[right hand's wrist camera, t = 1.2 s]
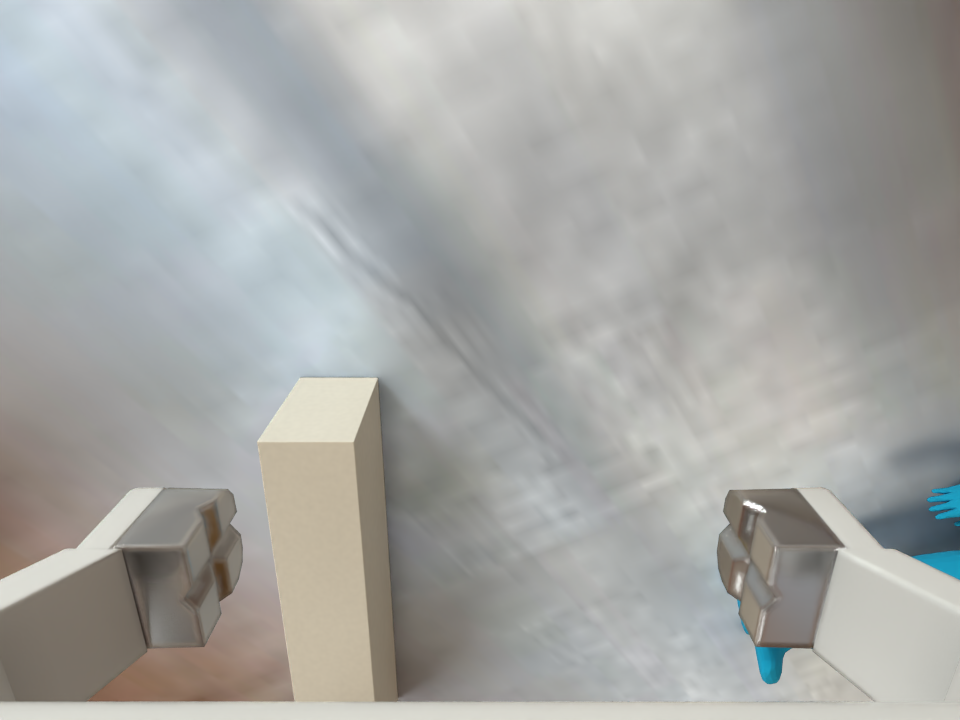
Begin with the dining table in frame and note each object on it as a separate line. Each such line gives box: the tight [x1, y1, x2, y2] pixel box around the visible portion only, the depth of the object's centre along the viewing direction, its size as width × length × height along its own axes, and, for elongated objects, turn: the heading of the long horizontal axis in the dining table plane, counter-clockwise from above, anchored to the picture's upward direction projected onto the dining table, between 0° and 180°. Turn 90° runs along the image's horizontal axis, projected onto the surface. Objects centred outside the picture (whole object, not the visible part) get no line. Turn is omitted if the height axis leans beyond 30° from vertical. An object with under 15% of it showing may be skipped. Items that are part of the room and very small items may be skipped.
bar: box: [257, 378, 398, 702], centre depth 41 cm, size 28×5×8 cm, turn 0°
